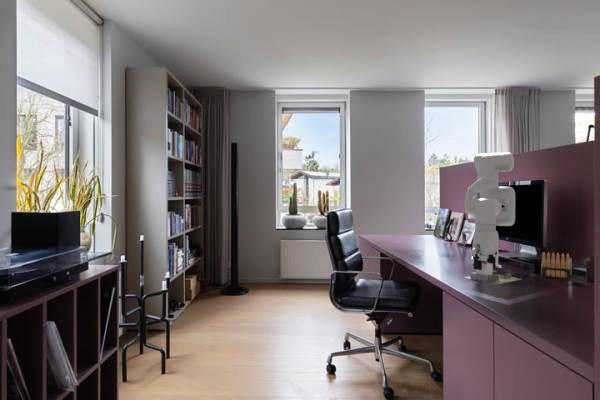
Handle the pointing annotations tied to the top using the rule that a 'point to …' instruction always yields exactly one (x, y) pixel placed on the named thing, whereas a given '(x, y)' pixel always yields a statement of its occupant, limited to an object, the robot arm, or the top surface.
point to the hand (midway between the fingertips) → (484, 268)
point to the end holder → (484, 277)
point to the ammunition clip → (557, 271)
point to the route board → (501, 278)
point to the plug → (485, 269)
